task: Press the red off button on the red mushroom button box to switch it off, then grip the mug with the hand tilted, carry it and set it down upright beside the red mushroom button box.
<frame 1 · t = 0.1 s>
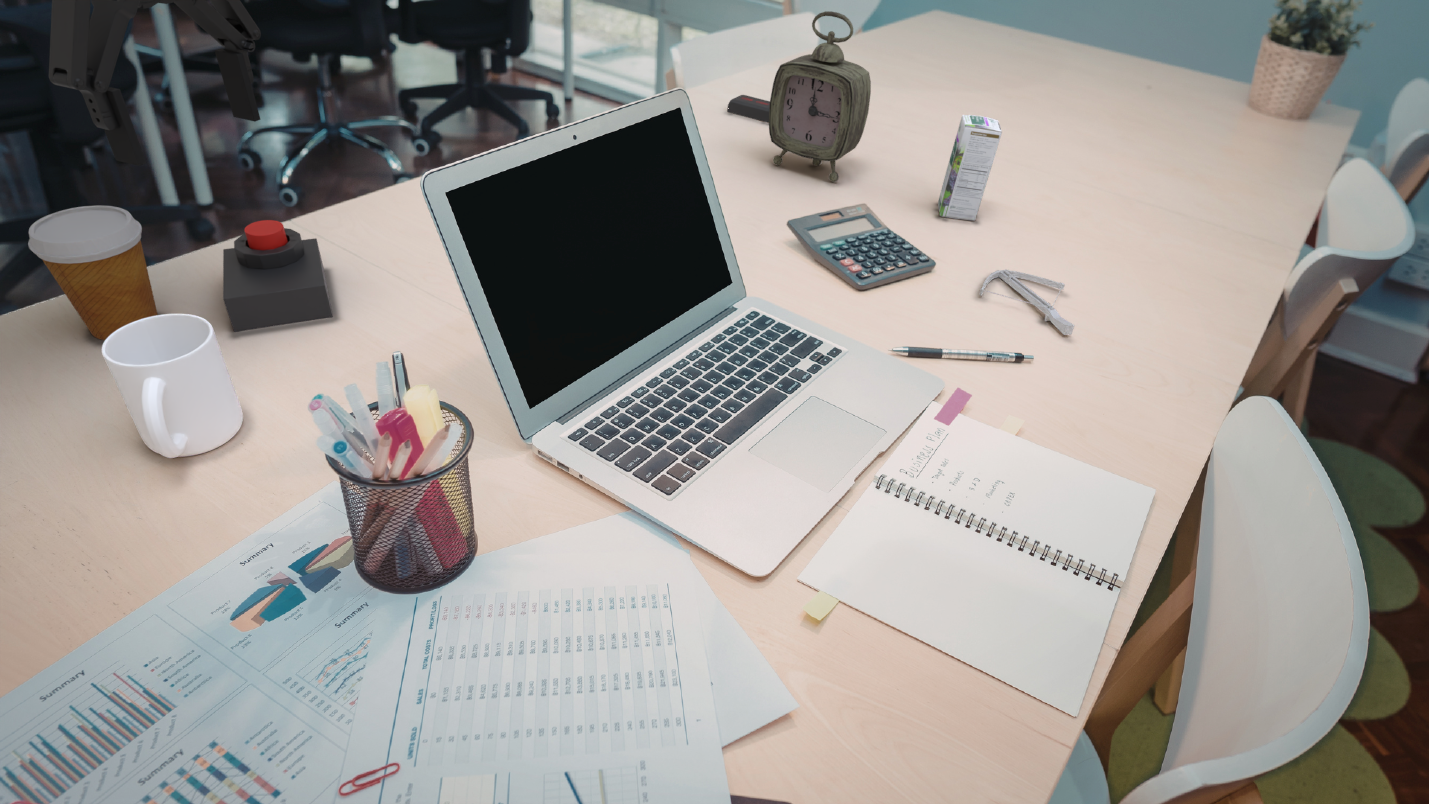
hand: (193, 139, 78), 21 cm above the table, tool pointing down, fingers open, 13 cm apart
tabletop clock: (811, 170, 140), on the table
off button: (266, 235, 93), point 7 cm above the table, slide at 0.1 cm
mug: (192, 445, 75), on the table
crossbow: (1030, 305, 107), on the table
disposable coffee cup: (126, 326, 88), on the table
syrup box: (956, 213, 130), on the table
usb drive: (759, 116, 160), on the table
red mushroom button box: (282, 298, 95), on the table
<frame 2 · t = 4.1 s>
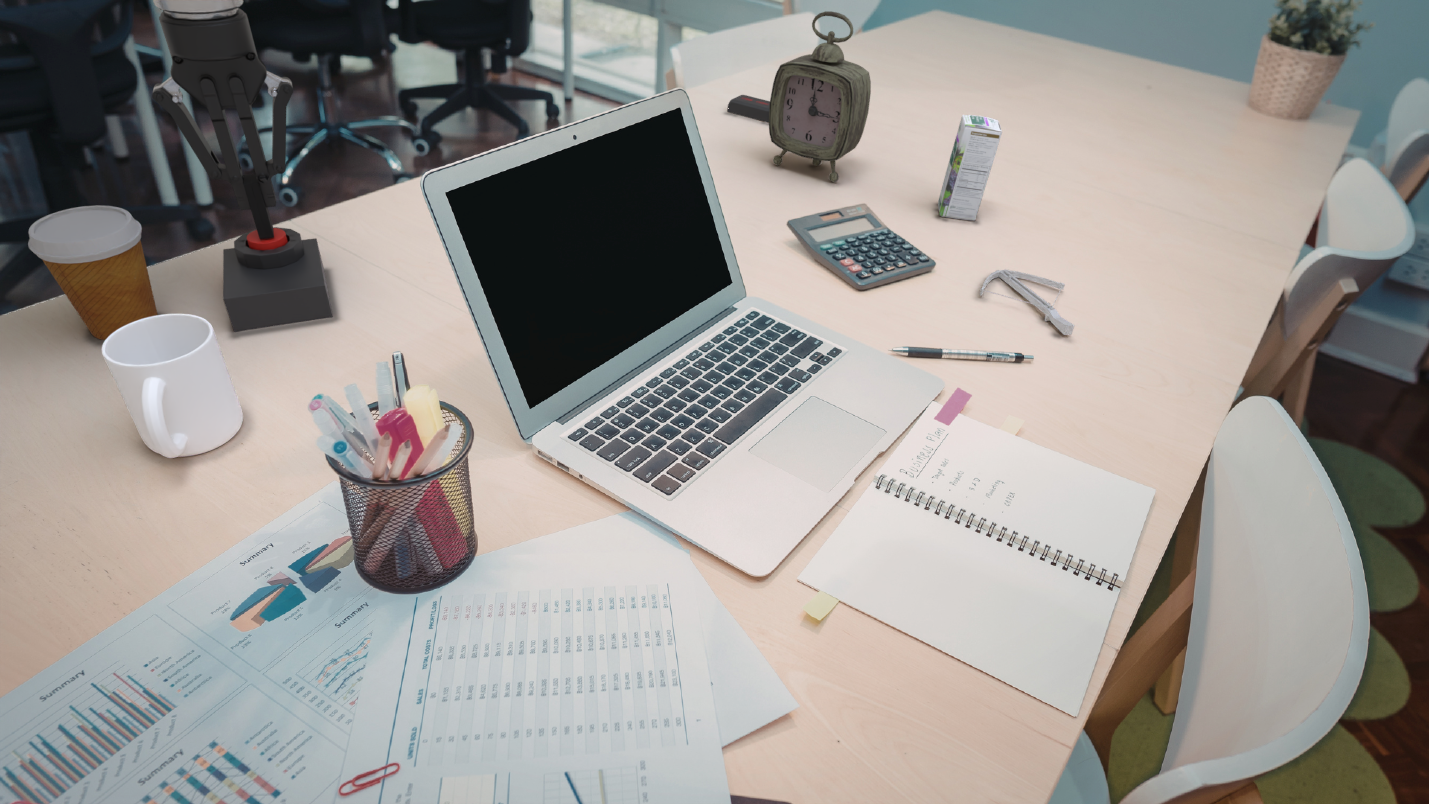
hand: (266, 233, 93), 7 cm above the table, tool pointing down, fingers closed
off button: (268, 243, 94), point 6 cm above the table, slide at -0.9 cm, touching gripper
everything else where it was.
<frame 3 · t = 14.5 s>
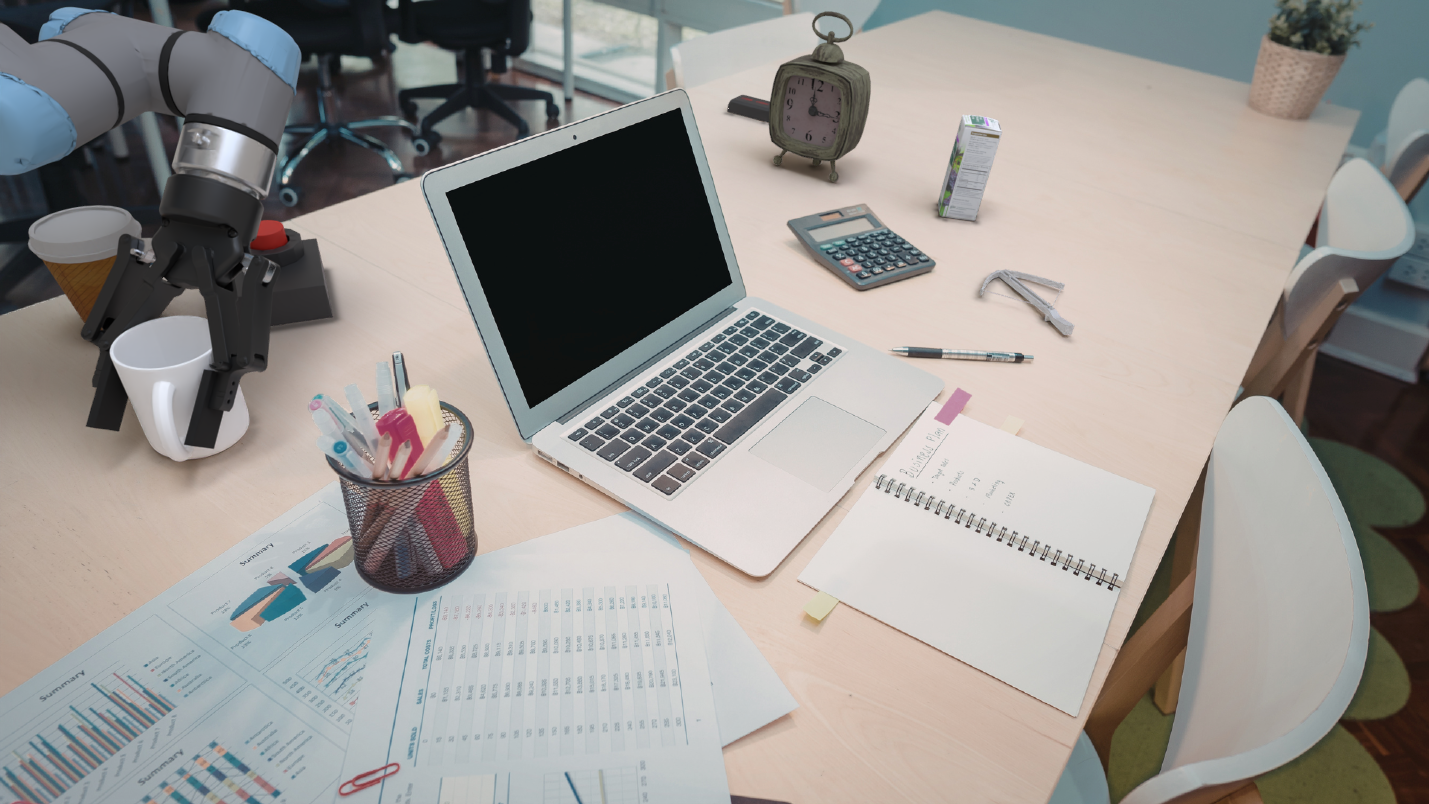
hand: (150, 437, 69), 4 cm above the table, tool tilted 45°, fingers closed on mug, 8 cm apart
off button: (266, 235, 93), point 7 cm above the table, slide at 0.1 cm
mug: (199, 447, 74), on the table, touching gripper
everything else where it was.
when the fingers open (4 cm above the table, at t = 22.1 s): mug stays where it is, on the table.
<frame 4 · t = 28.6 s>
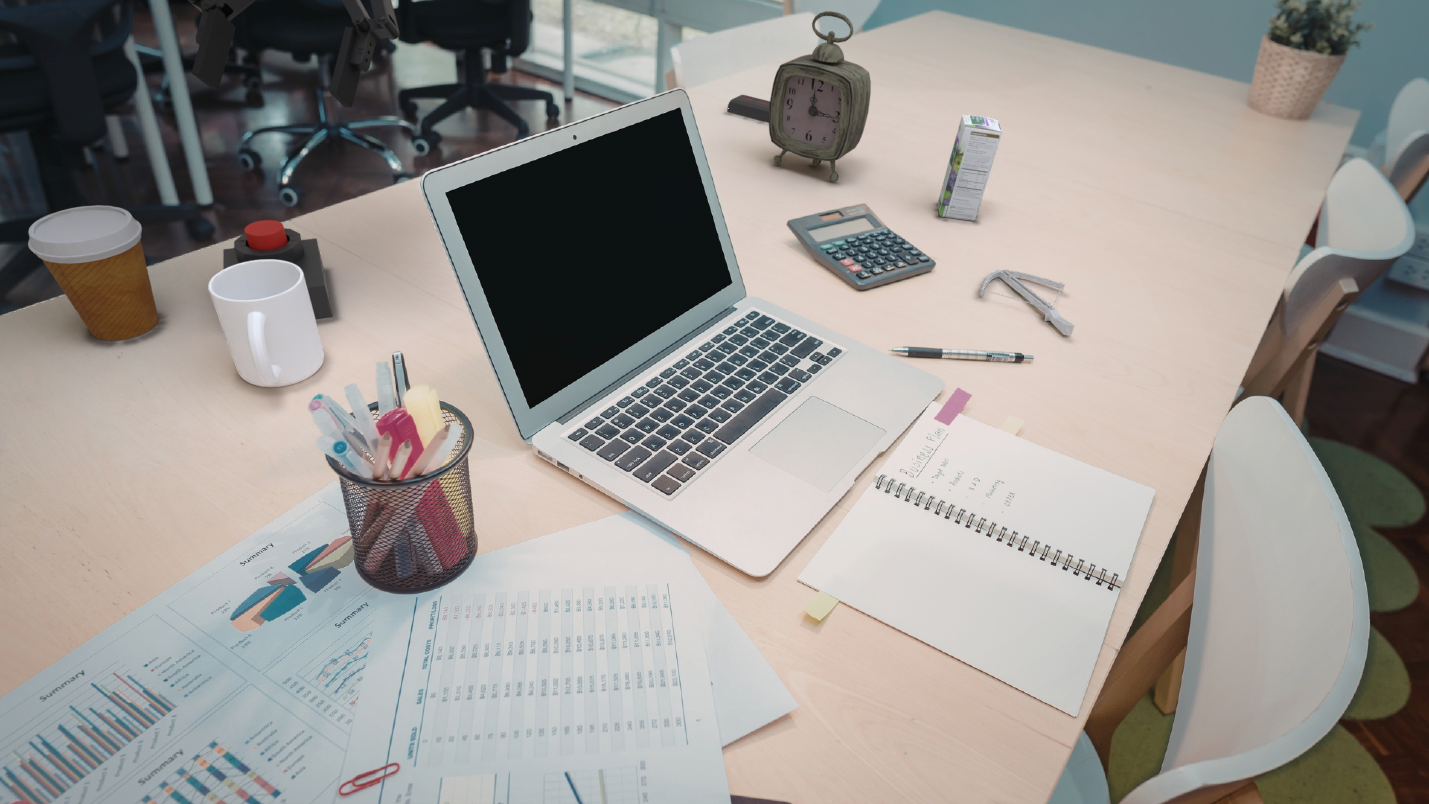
hand: (272, 91, 76), 26 cm above the table, tool tilted 45°, fingers open, 13 cm apart
mug: (281, 378, 83), on the table
everything else where it was.
at the end: off button pushed in 1.0 cm at the most during the clip, back to where it started at the end; mug inside the target area (0.7 cm from its centre), on the table; mug tilted 0° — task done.
